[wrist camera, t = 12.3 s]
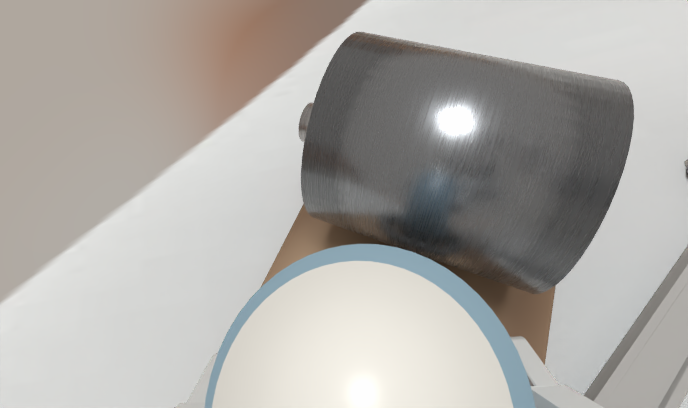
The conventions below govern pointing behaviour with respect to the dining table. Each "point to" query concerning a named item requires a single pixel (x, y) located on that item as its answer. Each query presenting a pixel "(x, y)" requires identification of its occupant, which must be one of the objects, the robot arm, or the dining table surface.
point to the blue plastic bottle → (367, 339)
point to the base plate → (506, 302)
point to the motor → (465, 156)
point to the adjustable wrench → (651, 351)
